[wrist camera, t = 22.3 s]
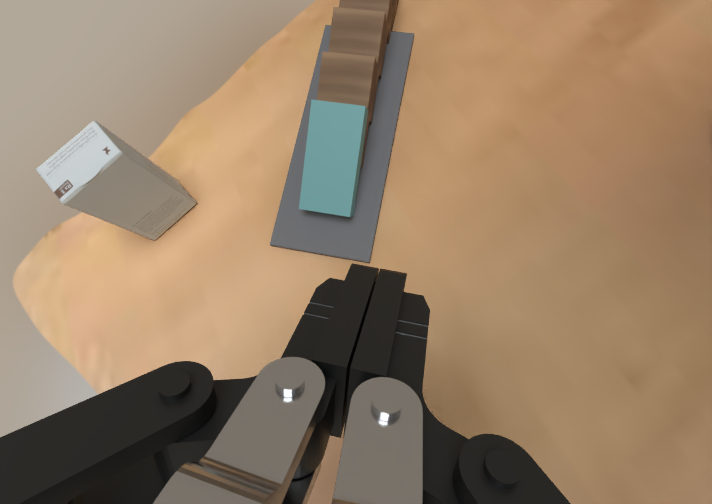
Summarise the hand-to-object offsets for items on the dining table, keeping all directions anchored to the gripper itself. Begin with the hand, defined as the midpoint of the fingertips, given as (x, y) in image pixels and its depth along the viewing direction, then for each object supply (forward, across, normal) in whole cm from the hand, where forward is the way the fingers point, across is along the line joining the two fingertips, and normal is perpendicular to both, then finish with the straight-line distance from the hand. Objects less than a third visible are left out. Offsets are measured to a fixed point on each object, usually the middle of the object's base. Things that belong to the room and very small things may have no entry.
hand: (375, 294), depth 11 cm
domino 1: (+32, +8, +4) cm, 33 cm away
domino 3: (+25, +8, +11) cm, 28 cm away
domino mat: (+32, +8, +6) cm, 34 cm away
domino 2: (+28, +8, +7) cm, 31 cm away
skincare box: (+24, +25, +14) cm, 38 cm away
